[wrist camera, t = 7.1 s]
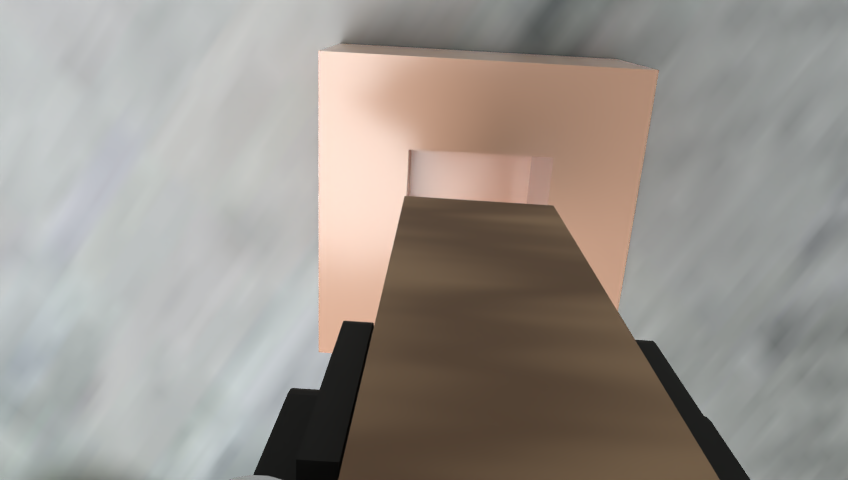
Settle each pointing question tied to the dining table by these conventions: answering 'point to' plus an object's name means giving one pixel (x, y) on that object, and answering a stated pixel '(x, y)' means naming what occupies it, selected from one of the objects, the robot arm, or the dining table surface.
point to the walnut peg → (506, 360)
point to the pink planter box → (471, 153)
